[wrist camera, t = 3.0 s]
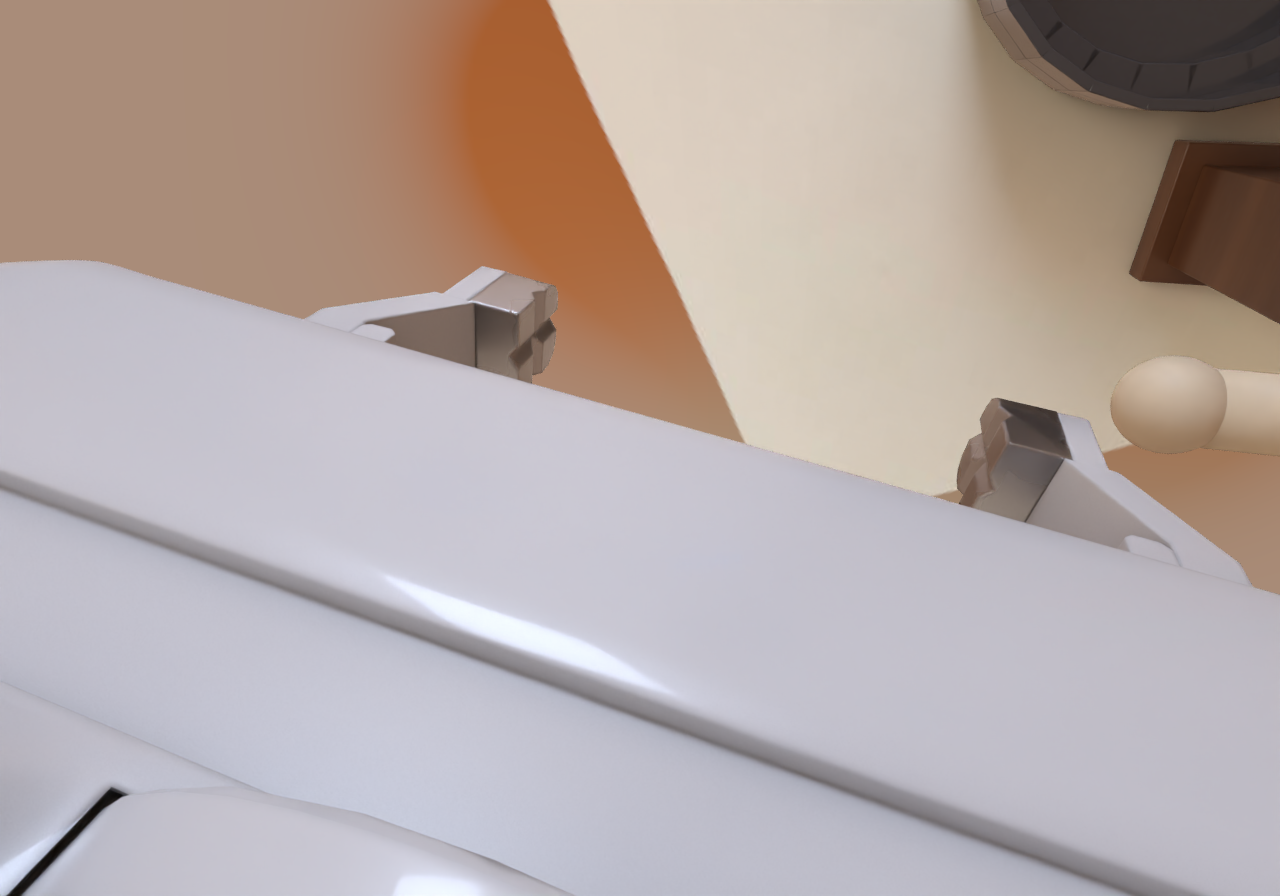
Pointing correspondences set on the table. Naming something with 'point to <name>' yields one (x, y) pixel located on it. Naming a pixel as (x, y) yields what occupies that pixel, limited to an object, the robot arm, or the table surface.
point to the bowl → (1146, 50)
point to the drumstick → (1197, 407)
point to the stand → (1217, 222)
